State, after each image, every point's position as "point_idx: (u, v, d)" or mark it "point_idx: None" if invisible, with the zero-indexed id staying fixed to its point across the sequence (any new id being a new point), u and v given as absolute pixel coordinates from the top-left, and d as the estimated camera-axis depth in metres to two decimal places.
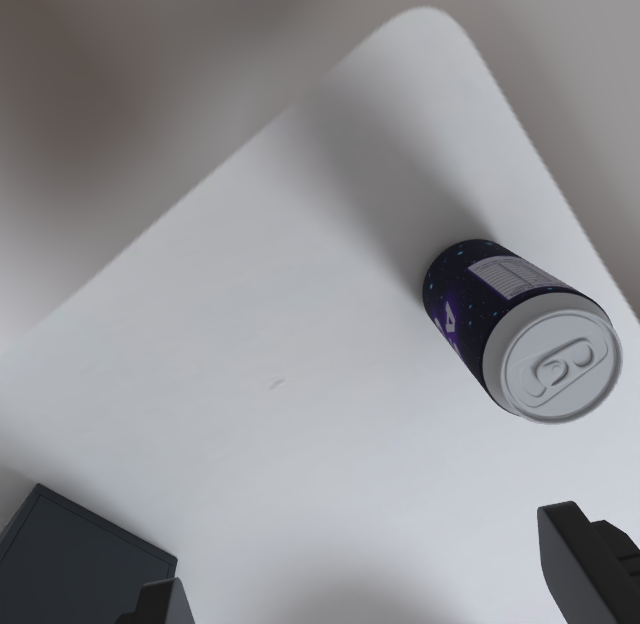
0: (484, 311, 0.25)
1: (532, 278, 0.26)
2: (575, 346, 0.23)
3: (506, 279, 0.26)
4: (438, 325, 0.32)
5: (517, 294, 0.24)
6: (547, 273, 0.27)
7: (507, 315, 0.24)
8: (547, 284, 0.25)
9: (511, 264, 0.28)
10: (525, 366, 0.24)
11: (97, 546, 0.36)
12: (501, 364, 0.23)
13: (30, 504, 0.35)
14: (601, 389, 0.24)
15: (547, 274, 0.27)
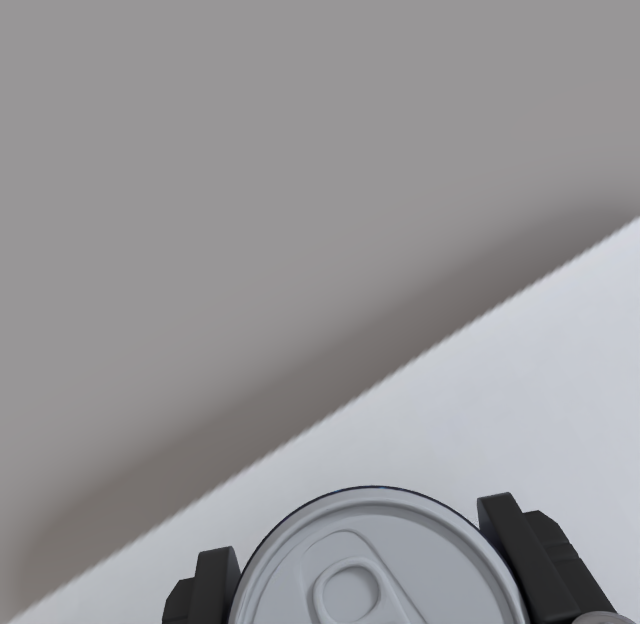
0: None
1: None
2: (327, 613, 0.10)
3: None
4: None
5: None
6: None
7: None
8: None
9: None
10: None
11: None
12: None
13: None
14: (439, 537, 0.11)
15: None
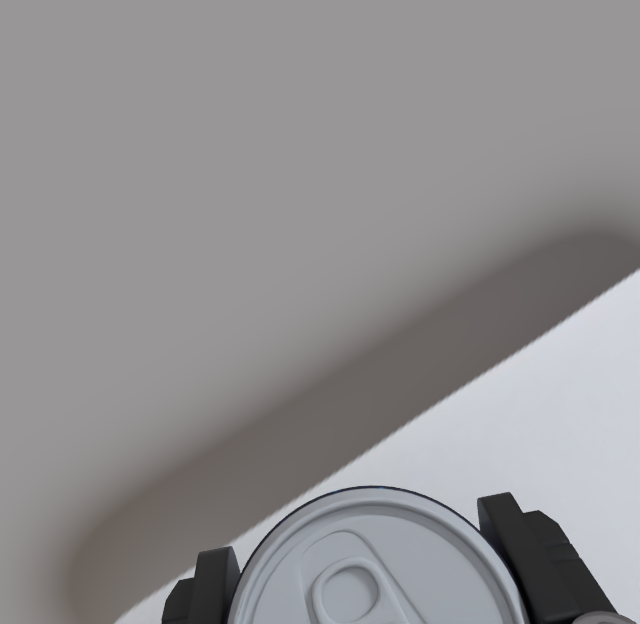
0: None
1: None
2: (326, 613, 0.10)
3: None
4: None
5: None
6: None
7: None
8: None
9: None
10: None
11: None
12: None
13: None
14: (438, 537, 0.11)
15: None
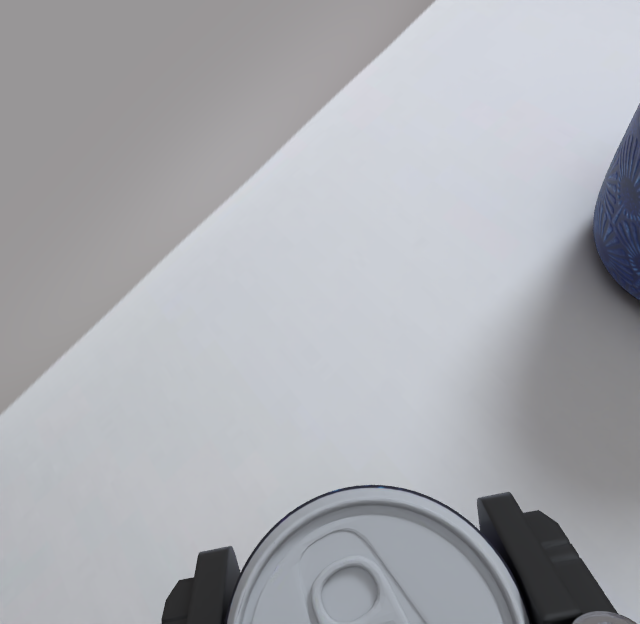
0: None
1: None
2: (325, 612, 0.10)
3: None
4: None
5: None
6: None
7: None
8: None
9: None
10: None
11: None
12: None
13: None
14: (438, 536, 0.11)
15: None
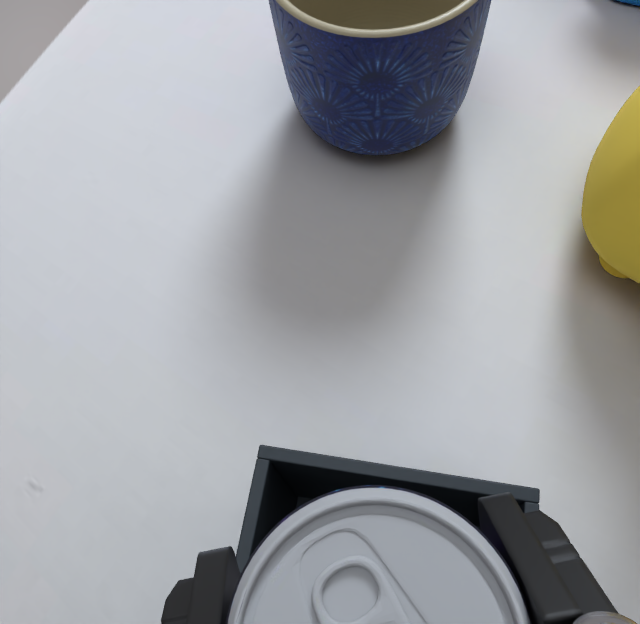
0: None
1: None
2: (327, 612, 0.10)
3: None
4: None
5: None
6: None
7: None
8: None
9: None
10: None
11: None
12: None
13: None
14: (439, 536, 0.11)
15: None
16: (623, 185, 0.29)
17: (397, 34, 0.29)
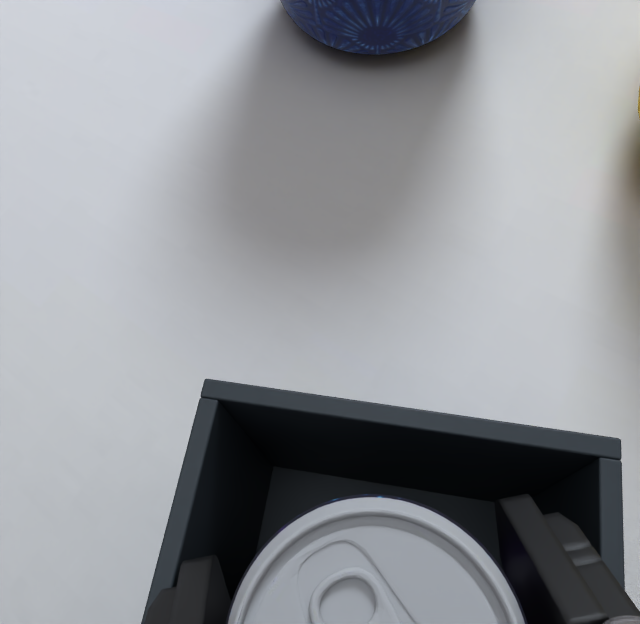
0: None
1: None
2: None
3: None
4: None
5: None
6: None
7: None
8: None
9: None
10: None
11: None
12: None
13: None
14: (436, 548, 0.11)
15: None
16: None
17: None
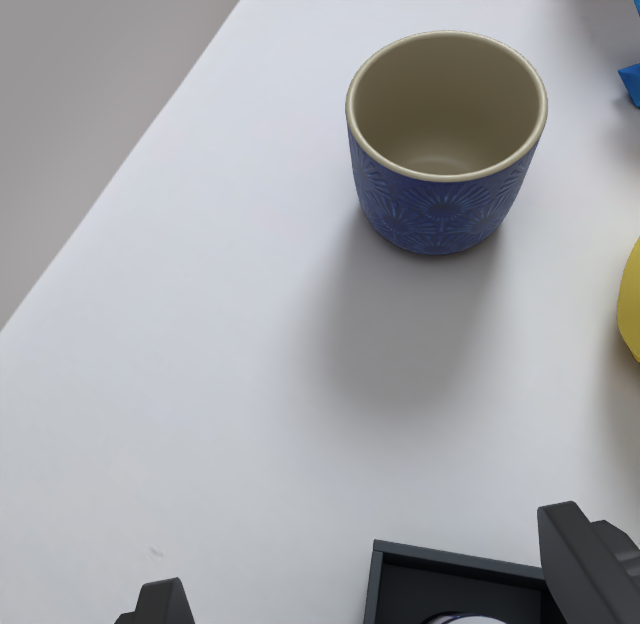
0: None
1: None
2: None
3: None
4: None
5: None
6: None
7: None
8: None
9: None
10: None
11: None
12: None
13: None
14: None
15: None
16: None
17: (465, 179, 0.35)
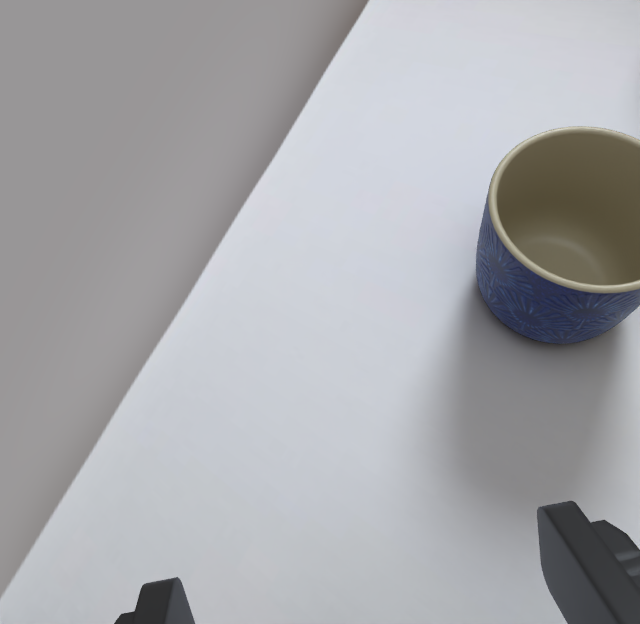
0: None
1: None
2: None
3: None
4: None
5: None
6: None
7: None
8: None
9: None
10: None
11: None
12: None
13: None
14: None
15: None
16: None
17: (621, 290, 0.35)
